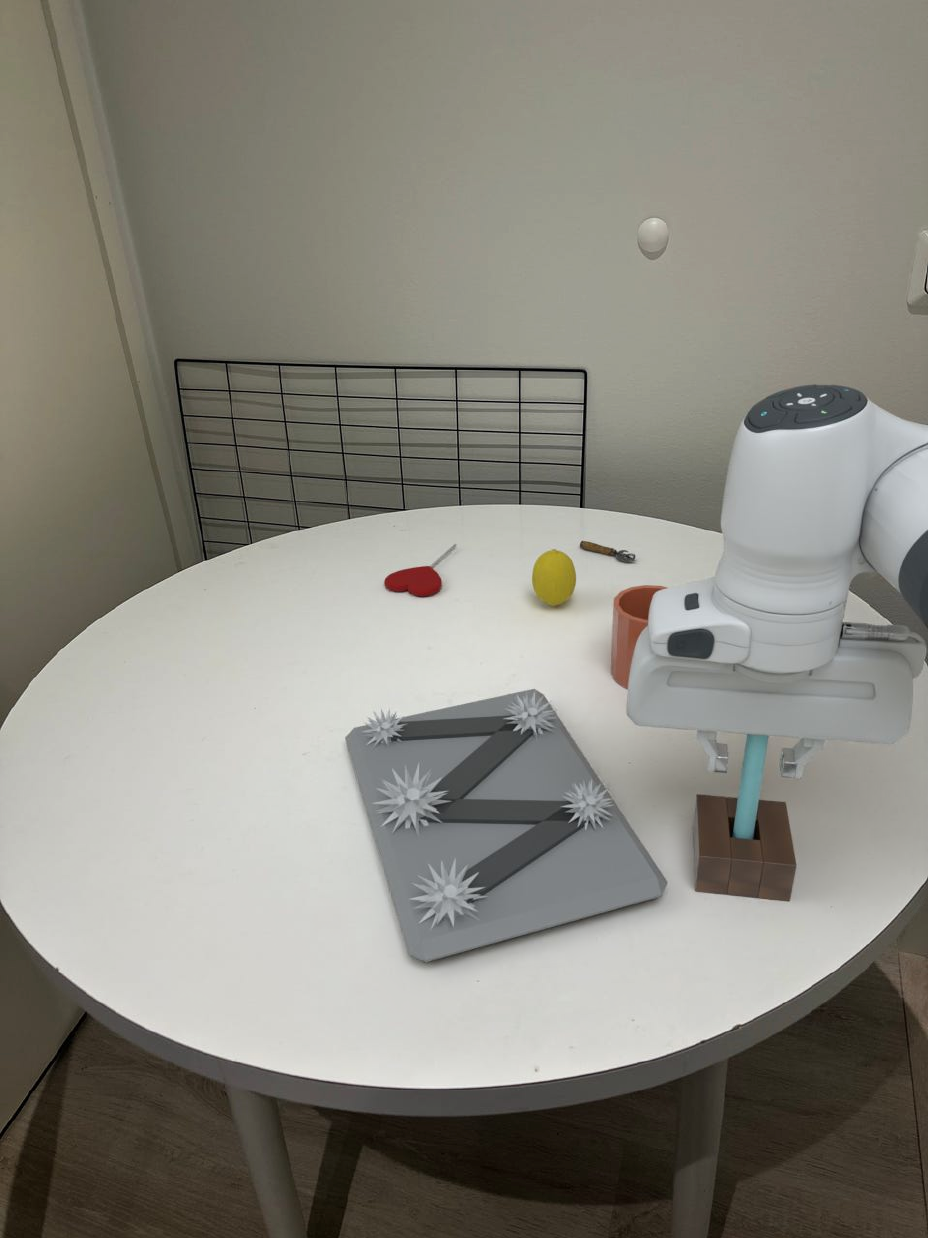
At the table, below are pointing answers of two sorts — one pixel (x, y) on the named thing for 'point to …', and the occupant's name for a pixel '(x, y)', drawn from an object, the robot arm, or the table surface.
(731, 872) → the holder
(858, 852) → the table surface
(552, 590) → the lemon
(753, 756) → the straw
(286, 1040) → the table surface
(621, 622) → the cup
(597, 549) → the can opener
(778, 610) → the robot arm
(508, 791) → the decorative plate
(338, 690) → the table surface
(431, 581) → the lollipop
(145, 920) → the table surface
